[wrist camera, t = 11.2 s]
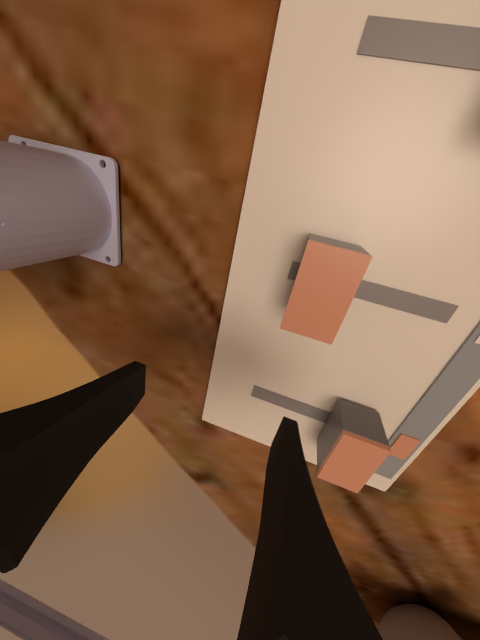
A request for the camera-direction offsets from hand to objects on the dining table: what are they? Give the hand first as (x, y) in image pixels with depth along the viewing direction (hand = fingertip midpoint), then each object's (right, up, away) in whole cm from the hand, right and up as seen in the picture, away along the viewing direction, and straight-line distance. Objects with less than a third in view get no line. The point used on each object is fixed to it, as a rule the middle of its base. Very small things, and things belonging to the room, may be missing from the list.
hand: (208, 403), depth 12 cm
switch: (+10, -5, +8) cm, 14 cm away
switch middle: (+7, +7, +4) cm, 10 cm away
